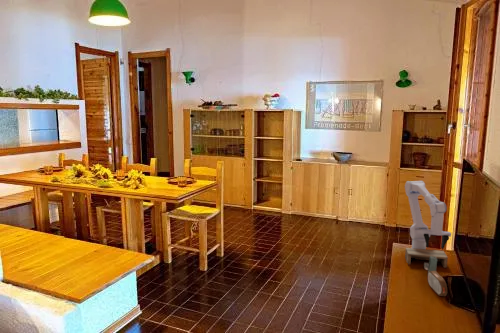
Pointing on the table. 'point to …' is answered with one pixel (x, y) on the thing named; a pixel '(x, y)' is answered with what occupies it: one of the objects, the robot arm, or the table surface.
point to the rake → (431, 264)
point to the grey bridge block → (425, 255)
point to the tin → (437, 283)
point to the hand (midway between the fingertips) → (434, 247)
